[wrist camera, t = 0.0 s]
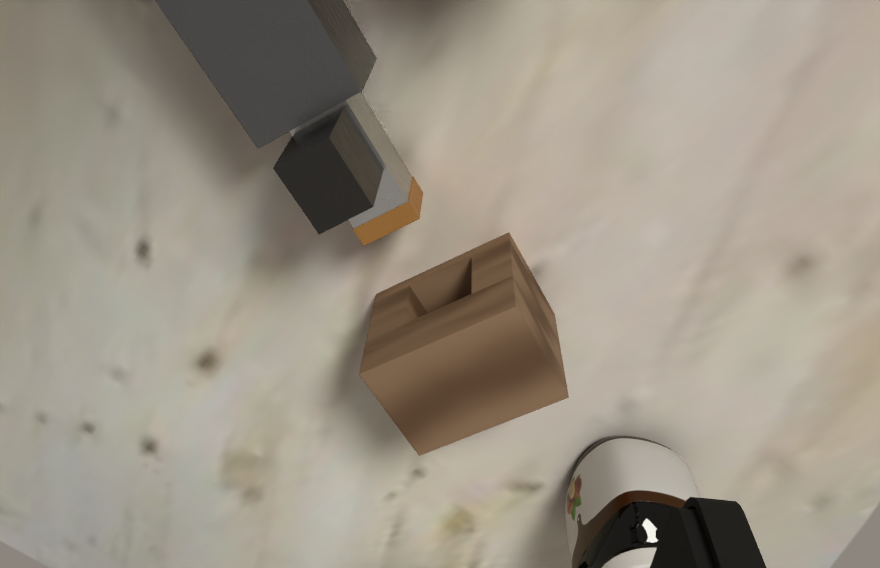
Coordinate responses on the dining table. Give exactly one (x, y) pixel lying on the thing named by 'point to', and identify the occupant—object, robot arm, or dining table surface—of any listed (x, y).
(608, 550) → the white mug
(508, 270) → the socket block
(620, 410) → the dining table surface
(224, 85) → the sleeve
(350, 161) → the steel bar
